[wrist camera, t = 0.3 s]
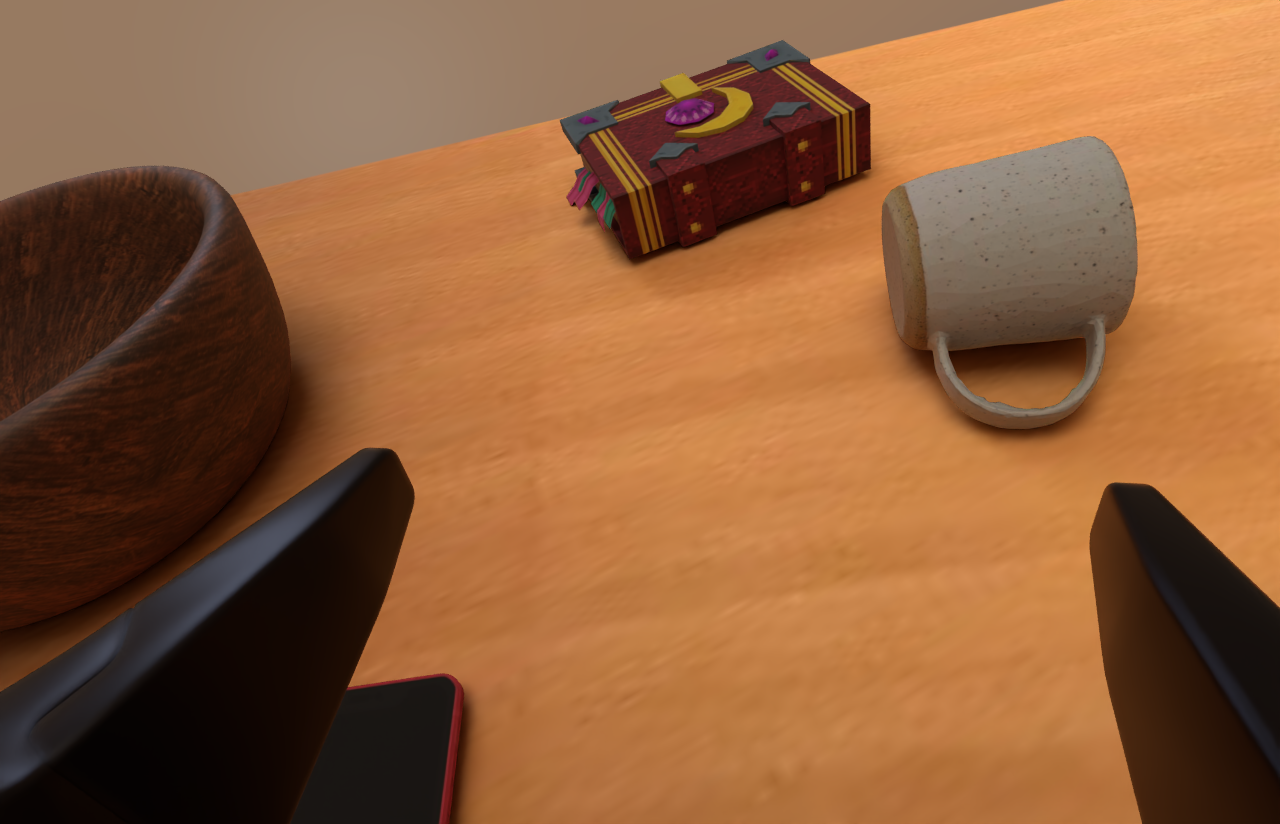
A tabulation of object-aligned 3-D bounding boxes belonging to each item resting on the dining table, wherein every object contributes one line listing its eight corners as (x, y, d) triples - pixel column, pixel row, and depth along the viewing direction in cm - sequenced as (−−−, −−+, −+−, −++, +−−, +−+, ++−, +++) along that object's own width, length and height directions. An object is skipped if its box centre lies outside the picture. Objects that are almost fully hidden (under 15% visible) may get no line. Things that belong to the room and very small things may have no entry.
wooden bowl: (262, 644, 31) (75, 480, 24) (-277, 736, 34) (-590, 614, 26) (377, 276, 49) (291, 119, 41) (18, 356, 51) (-121, 222, 44)
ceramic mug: (875, 285, 38) (875, 138, 32) (1056, 258, 36) (1088, 100, 31) (922, 453, 31) (931, 301, 25) (1151, 427, 29) (1213, 260, 24)
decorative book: (876, 177, 44) (876, 92, 41) (611, 277, 43) (587, 198, 40) (787, 107, 52) (781, 31, 49) (562, 190, 51) (539, 117, 48)
